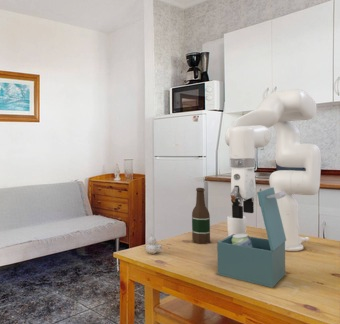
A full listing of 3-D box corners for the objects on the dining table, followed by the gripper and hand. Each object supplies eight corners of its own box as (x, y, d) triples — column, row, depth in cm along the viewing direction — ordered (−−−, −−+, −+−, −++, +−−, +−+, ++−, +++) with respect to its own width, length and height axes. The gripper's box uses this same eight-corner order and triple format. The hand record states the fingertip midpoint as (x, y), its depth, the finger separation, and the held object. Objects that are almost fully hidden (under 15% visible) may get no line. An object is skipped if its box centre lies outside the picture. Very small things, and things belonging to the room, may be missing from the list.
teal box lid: (257, 192, 102) (274, 189, 98) (270, 187, 111) (287, 185, 108) (270, 250, 100) (289, 249, 96) (283, 240, 110) (301, 239, 106)
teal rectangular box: (217, 274, 112) (217, 242, 111) (233, 263, 121) (233, 233, 121) (272, 287, 100) (272, 251, 100) (285, 274, 110) (285, 241, 109)
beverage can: (258, 274, 109) (258, 237, 108) (234, 273, 110) (233, 236, 110) (253, 267, 115) (252, 232, 114) (230, 266, 116) (229, 232, 116)
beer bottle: (212, 240, 152) (211, 187, 151) (208, 244, 145) (207, 189, 144) (194, 238, 156) (193, 186, 155) (189, 242, 149) (188, 188, 148)
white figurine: (147, 250, 139) (146, 231, 139) (163, 252, 137) (162, 232, 137) (144, 254, 134) (143, 234, 134) (160, 256, 132) (160, 236, 132)
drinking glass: (245, 253, 133) (245, 215, 132) (247, 258, 126) (247, 218, 126) (226, 251, 135) (226, 214, 134) (227, 257, 128) (227, 218, 128)
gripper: (244, 166, 102) (245, 221, 103) (262, 162, 115) (263, 212, 116) (219, 165, 107) (221, 219, 108) (240, 162, 120) (241, 209, 121)
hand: (243, 215), depth 112 cm, fingers open, 9 cm apart
